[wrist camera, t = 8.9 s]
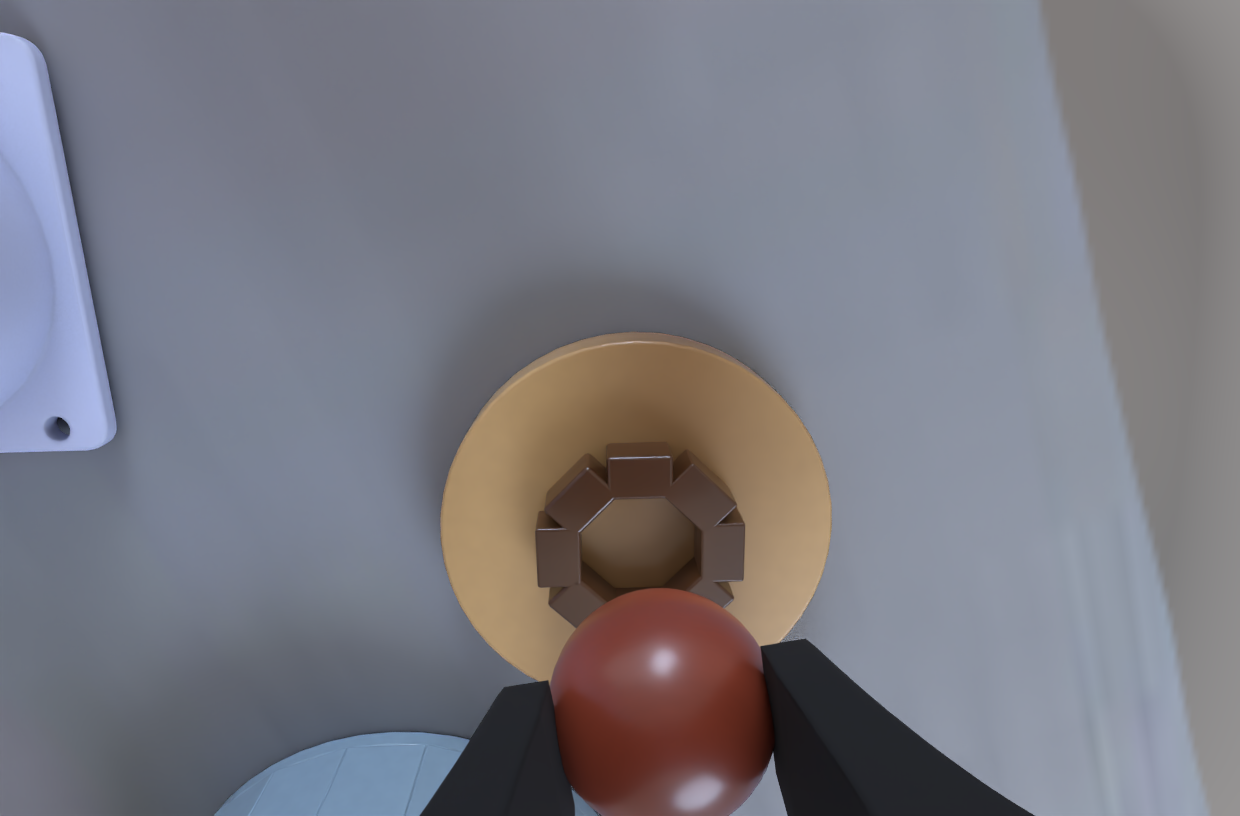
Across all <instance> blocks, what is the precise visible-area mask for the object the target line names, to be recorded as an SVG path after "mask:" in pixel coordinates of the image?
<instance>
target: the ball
mask: <svg viewBox="0 0 1240 816" xmlns="http://www.w3.org/2000/svg"><path fill="white" fill-rule="evenodd" d="M550 690H551V694H552V699H553V704H554V710H555V722H556V730H557V738H558V744H559V750H560V755H561V760H562V765H563V768H564V772H565V775H566V777H567V780H568V781H569V783H570V784H571V785H572V787H573V788H574V789H575V791H576V792H577V793H578V794H579V796H580V797H581V798H582V799H583V800H584V801H585V802H586V803H587V804H588V805H589V806H590V807H591V808H592V809H594V810H595V811H596V812H598V813H599V814H600V815H602V816H729V815H730V814H731V813H733V812H734V811H735V810H736V809H737V808H739V807H740V806H741V805H742V804H743V803H744V802H745V801H746V800H747V799H748V797H749V796H750V795H751V794H752V792H753V791H754V789H755V788H756V787H757V785H758V784H759V782H760V781H761V779H762V777H763V775H764V773H765V771H766V769H767V767H768V764H769V761H770V759H771V756H772V753H773V750H774V744H775V739H774V727H773V719H772V713H771V706H770V701H769V696H768V690H767V686H766V681H765V677H764V672H763V664H762V656H761V648H760V647H759V645H758V643H757V642H756V640H755V639H754V637H753V636H752V635H751V634H750V632H749V631H748V630H747V629H746V628H745V627H744V625H743V624H742V623H741V622H740V621H739V620H738V619H737V618H736V617H735V616H733V615H732V614H731V613H730V612H728V611H727V610H725V609H724V608H722V607H721V606H719V605H718V604H717V603H715V602H713V601H711V600H709V599H707V598H705V597H703V596H700V595H697V594H694V593H692V592H687V591H682V590H678V589H670V588H649V589H643V590H637V591H633V592H630V593H626V594H624V595H621V596H619V597H616V598H614V599H613V600H611V601H609V602H607V603H605V604H604V605H602V606H600V607H599V608H598V609H596V610H595V611H594V612H592V613H591V614H590V615H589V616H588V617H587V618H585V619H584V620H583V621H582V622H581V623H580V625H579V626H578V627H577V628H576V630H575V631H574V632H573V633H572V635H571V636H570V637H569V639H568V640H567V642H566V644H565V645H564V647H563V649H562V651H561V653H560V656H559V658H558V660H557V663H556V665H555V667H554V671H553V674H552V678H551V683H550Z"/></svg>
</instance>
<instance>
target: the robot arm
mask: <svg viewBox="0 0 1240 816" xmlns="http://www.w3.org/2000/svg"><path fill="white" fill-rule="evenodd" d="M57 417H60V418H62V419H64V420H65V421H66V422H67V423H68V425H69V427H70V435H67V434H65V433H64V432H62V431H61V430H60V429H59V427H58V425H57ZM116 432H117V422H116V417H115V412H114V407H113V402H112V397H111V391H110V386H109V381H108V376H107V371H106V366H105V361H104V356H103V351H102V345H101V340H100V335H99V330H98V325H97V320H96V315H95V310H94V305H93V299H92V294H91V289H90V284H89V279H88V274H87V269H86V264H85V258H84V253H83V248H82V243H81V238H80V233H79V228H78V223H77V218H76V212H75V207H74V202H73V197H72V192H71V187H70V182H69V177H68V172H67V166H66V161H65V156H64V151H63V146H62V141H61V136H60V131H59V126H58V120H57V115H56V110H55V105H54V100H53V95H52V90H51V85H50V80H49V74H48V69H47V65H46V62H45V59H44V57H43V54H42V53H41V52H40V50H39V49H38V48H37V47H36V46H35V44H33V43H31V42H30V41H28V40H27V39H25V38H22V37H19V36H16V35H12V34H7V33H2V32H0V453H3V452H44V451H84V450H92V449H97V448H99V447H101V446H103V445H105V444H107V443H108V442H109V441H111V440H112V439H113V438H114V436H115V434H116ZM760 648H761V656H762V664H763V672H764V677H765V681H766V686H767V690H768V696H769V701H770V706H771V713H772V719H773V727H774V739H775V744H774V750H773V753H774V761H775V769H776V775H777V778H778V782H779V785H780V789H781V793H782V796H783V800H784V804H785V807H786V811H787V814H788V816H1034V815H1033V814H1031V813H1029V812H1028V811H1026V810H1025V809H1023V808H1021V807H1020V806H1018V805H1016V804H1015V803H1013V802H1011V801H1010V800H1008V799H1007V798H1005V797H1004V796H1002V795H1001V794H999V793H998V792H996V791H994V790H993V789H991V788H990V787H988V786H987V785H986V784H984V783H983V782H981V781H980V780H978V779H977V778H976V777H974V776H973V775H971V774H970V773H969V772H967V771H966V770H964V769H963V768H962V767H960V766H959V765H957V764H956V763H955V762H953V761H952V760H950V759H949V758H948V757H946V756H945V755H944V754H942V753H941V752H940V751H938V750H937V749H936V748H934V747H933V746H932V745H930V744H929V743H928V742H926V741H925V740H924V739H923V738H921V737H920V736H919V735H918V734H916V733H915V732H914V731H913V730H911V729H910V728H909V727H908V726H906V725H905V724H904V723H903V722H901V721H900V720H899V719H898V718H896V717H895V716H894V715H893V714H891V713H890V712H889V711H888V710H886V709H885V708H884V707H883V706H882V705H880V704H879V703H878V702H877V701H876V700H874V699H873V698H872V697H871V696H870V695H869V694H867V693H866V692H865V691H864V690H863V689H862V688H861V687H859V686H858V685H857V684H856V683H855V682H854V681H853V680H851V679H850V678H849V677H848V676H847V675H846V674H845V673H844V672H842V671H841V670H840V669H839V668H838V667H837V666H836V665H835V664H834V663H833V662H831V661H830V660H829V659H828V658H827V657H826V656H825V655H824V654H823V653H822V652H821V651H820V650H818V649H817V648H816V647H815V646H814V645H813V644H811V643H810V642H809V641H808V640H806V639H801V640H795V641H789V642H782V643H776V644H770V645H764V646H760ZM419 816H575V803H574V799H573V794H572V789H571V784H570V783H569V781H568V780H567V777H566V775H565V772H564V768H563V765H562V760H561V755H560V750H559V744H558V738H557V730H556V722H555V710H554V704H553V699H552V694H551V690H550V685H549V680H546V681H540V682H534V683H528V684H521V685H515V686H509V687H504V688H503V689H502V691H501V692H500V693H499V695H498V696H497V697H496V699H495V701H494V702H493V704H492V705H491V707H490V709H489V710H488V712H487V714H486V715H485V717H484V718H483V720H482V722H481V723H480V725H479V726H478V728H477V730H476V731H475V733H474V734H473V736H472V738H471V739H470V741H469V742H468V744H467V746H466V747H465V749H464V750H463V752H462V753H461V755H460V756H459V758H458V760H457V761H456V763H455V764H454V766H453V767H452V769H451V770H450V772H449V773H448V775H447V776H446V777H445V779H444V780H443V782H442V783H441V785H440V786H439V788H438V789H437V791H436V792H435V794H434V795H433V797H432V798H431V800H430V801H429V803H428V804H427V806H426V807H425V808H424V810H423V811H422V813H421V814H420V815H419Z"/></svg>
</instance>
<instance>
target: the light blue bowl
mask: <svg viewBox="0 0 1240 816" xmlns="http://www.w3.org/2000/svg"><path fill="white" fill-rule="evenodd" d="M469 741H470V740H469V739H465V738H461V737H457V736H450V735H442V734H434V733H426V732H384V733H374V734H363V735H357V736H352V737H348V738H343V739H338V740H333V741H329V742H326V743H323V744H320V745H317V746H314V747H311V748H308V749H305V750H302V751H300V752H298V753H296V754H294V755H292V756H290V757H287V758H285V759H283V760H281V761H279V762H277V763H275V764H273V765H272V766H270V767H269V768H267V769H266V770H264V771H262V772H261V773H259V774H258V775H256V776H255V777H253V778H252V779H250V780H249V781H248V782H246V783H245V784H244V785H243V786H242V787H241V788H240V789H238V790H237V791H236V792H235V793H234V794H233V795H231V796H230V797H229V798H228V799H227V800H226V801H225V803H224V804H223V805H222V806H221V807H220V808H219V810H218V811H217V812H216V813H215V814H214V815H213V816H419V815H420V814H421V813H422V811H423V810H424V808H425V807H426V806H427V804H428V803H429V801H430V800H431V798H432V797H433V795H434V794H435V792H436V791H437V789H438V788H439V786H440V785H441V783H442V782H443V780H444V779H445V777H446V776H447V775H448V773H449V772H450V770H451V769H452V767H453V766H454V764H455V763H456V761H457V760H458V758H459V756H460V755H461V753H462V752H463V750H464V749H465V747H466V746H467V744H468V742H469ZM572 794H573V799H574V803H575V816H598V814H597V813H596V812H595V811H594V810H593V809H592V808H591V807H590V806H589V805H588V804H587V803H586V802H585V801H584V800H583V799H582V798H581V797H580V796H579V795H578V794H577V793H576V792H575V791H574V790H572Z"/></svg>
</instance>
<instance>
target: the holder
mask: <svg viewBox="0 0 1240 816" xmlns="http://www.w3.org/2000/svg"><path fill="white" fill-rule="evenodd" d="M831 529H832V506H831V498H830V491H829V484H828V479H827V476H826V473H825V469H824V466H823V463H822V459H821V457H820V454H819V452H818V450H817V448H816V446H815V444H814V441H813V439H812V437H811V435H810V434H809V432H808V431H807V429H806V427H805V426H804V424H803V423H802V421H801V420H800V418H799V417H798V415H797V414H796V413H795V412H794V411H793V409H792V408H791V407H790V406H789V405H788V404H787V402H786V401H785V400H784V399H783V398H782V397H781V396H780V395H779V394H778V393H777V392H776V391H775V390H774V389H773V388H772V387H771V386H770V385H769V384H768V383H767V382H765V381H764V380H763V379H762V378H761V377H760V376H759V375H757V374H756V373H755V372H754V371H753V370H752V369H750V368H749V367H747V366H746V365H744V364H743V363H741V362H740V361H738V360H736V359H735V358H733V357H732V356H730V355H728V354H726V353H724V352H722V351H720V350H718V349H715V348H713V347H711V346H709V345H706V344H703V343H700V342H697V341H694V340H691V339H688V338H684V337H679V336H674V335H668V334H662V333H650V332H624V333H613V334H605V335H600V336H596V337H591V338H587V339H582V340H579V341H577V342H574V343H571V344H568V345H566V346H563V347H560V348H558V349H556V350H554V351H552V352H550V353H548V354H546V355H544V356H542V357H540V358H538V359H536V360H535V361H533V362H532V363H530V364H529V365H527V366H526V367H525V368H523V369H522V370H520V371H519V372H517V373H516V374H515V375H514V376H512V377H511V378H510V379H509V380H508V381H507V382H506V383H505V384H504V385H503V386H502V387H500V388H499V389H498V390H497V391H496V392H495V394H494V395H493V396H492V397H491V398H490V400H489V401H488V402H487V403H486V404H485V406H484V407H483V408H482V409H481V411H480V412H479V414H478V415H477V417H476V419H475V420H474V422H473V424H472V425H471V427H470V428H469V430H468V432H467V434H466V435H465V437H464V439H463V441H462V442H461V444H460V446H459V449H458V451H457V453H456V455H455V458H454V460H453V462H452V465H451V467H450V470H449V474H448V477H447V481H446V484H445V488H444V491H443V499H442V506H441V514H440V534H441V546H442V552H443V558H444V564H445V567H446V571H447V574H448V577H449V580H450V584H451V587H452V589H453V591H454V593H455V595H456V597H457V599H458V602H459V604H460V606H461V608H462V609H463V611H464V613H465V614H466V616H467V617H468V619H469V620H470V622H471V623H472V625H473V627H474V628H475V629H476V630H477V632H478V633H479V634H480V635H481V636H482V637H483V639H484V640H485V641H486V642H487V643H488V644H489V646H490V647H492V648H493V649H494V650H495V651H496V652H497V653H498V654H499V655H500V656H501V657H503V658H504V659H505V660H506V661H507V662H509V663H510V664H511V665H513V666H514V667H516V668H517V669H519V670H520V671H521V672H523V673H524V674H526V675H527V676H529V677H531V678H533V679H535V680H537V681H539V682H540V681H546V680H549V685H550V683H551V678H552V674H553V671H554V667H555V665H556V663H557V660H558V658H559V656H560V653H561V651H562V649H563V647H564V645H565V644H566V642H567V640H568V639H569V637H570V636H571V635H572V633H573V632H574V631H575V630H576V628H577V627H578V626H579V625H580V623H581V622H582V621H583V620H584V619H585V618H587V617H588V616H589V615H590V614H591V613H592V612H594V611H595V610H596V609H598V608H599V607H600V606H602V605H604V604H605V603H607V602H609V601H611V600H613V599H614V598H616V597H619V596H621V595H624V594H626V593H630V592H633V591H637V590H643V589H649V588H670V589H678V590H682V591H687V592H692V593H694V594H697V595H700V596H703V597H705V598H707V599H709V600H711V601H713V602H715V603H717V604H718V605H719V606H721V607H722V608H724V609H725V610H727V611H728V612H730V613H731V614H732V615H733V616H735V617H736V618H737V619H738V620H739V621H740V622H741V623H742V624H743V625H744V627H745V628H746V629H747V630H748V631H749V632H750V634H751V635H752V636H753V637H754V639H755V640H756V642H757V643H758V645H759V647H760V646H764V645H770V644H776V643H779V642H780V641H781V640H782V639H783V638H784V637H785V636H786V635H787V634H788V633H789V632H790V630H791V629H792V628H793V626H794V625H795V624H796V622H797V621H798V620H799V619H800V617H801V616H802V614H803V612H804V611H805V609H806V607H807V606H808V604H809V602H810V601H811V599H812V597H813V595H814V593H815V590H816V588H817V586H818V583H819V581H820V579H821V576H822V573H823V570H824V566H825V562H826V559H827V555H828V551H829V544H830V537H831Z"/></svg>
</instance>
